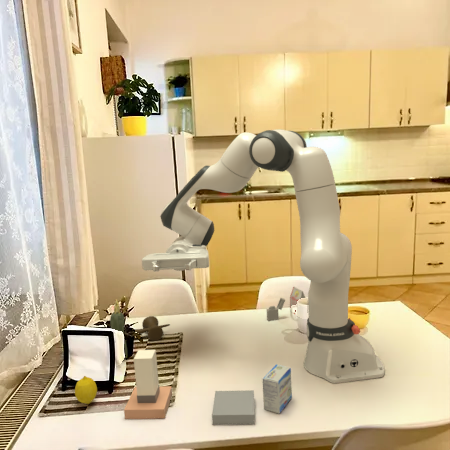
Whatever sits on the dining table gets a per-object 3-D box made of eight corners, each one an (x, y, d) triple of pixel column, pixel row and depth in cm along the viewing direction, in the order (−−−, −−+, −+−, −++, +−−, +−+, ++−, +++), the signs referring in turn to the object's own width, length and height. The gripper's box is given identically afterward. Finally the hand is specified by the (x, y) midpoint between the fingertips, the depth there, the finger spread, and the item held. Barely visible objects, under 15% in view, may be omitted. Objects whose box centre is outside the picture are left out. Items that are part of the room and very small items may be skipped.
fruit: (74, 402, 111) (71, 374, 109) (96, 395, 113) (92, 368, 112) (78, 412, 106) (75, 384, 105) (100, 405, 109) (97, 377, 107)
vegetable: (124, 363, 130) (118, 303, 126) (111, 363, 130) (105, 302, 127) (130, 356, 134) (124, 298, 130) (118, 356, 135) (111, 297, 131)
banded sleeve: (159, 392, 109) (156, 349, 107) (155, 402, 104) (151, 358, 102) (142, 392, 109) (138, 349, 107) (137, 403, 105) (133, 359, 102)
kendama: (113, 339, 149) (167, 326, 156) (116, 351, 140) (174, 337, 147) (111, 324, 147) (166, 312, 154) (114, 335, 139) (172, 322, 145)
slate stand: (254, 399, 108) (253, 390, 107) (254, 424, 98) (254, 414, 98) (215, 399, 108) (215, 390, 108) (212, 424, 99) (212, 415, 98)
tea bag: (298, 309, 165) (297, 285, 164) (307, 315, 159) (307, 290, 157) (290, 311, 164) (289, 287, 162) (299, 317, 158) (298, 292, 156)
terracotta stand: (172, 394, 112) (171, 386, 111) (164, 418, 102) (164, 409, 101) (135, 395, 112) (135, 386, 112) (124, 418, 103) (124, 409, 102)
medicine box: (279, 414, 101) (278, 382, 99) (263, 409, 103) (261, 377, 102) (292, 397, 108) (291, 367, 106) (276, 393, 110) (275, 363, 108)
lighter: (268, 321, 156) (267, 301, 154) (266, 319, 157) (266, 299, 156) (286, 318, 157) (285, 298, 156) (284, 316, 159) (283, 297, 158)
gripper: (146, 247, 132) (134, 259, 119) (210, 245, 131) (206, 256, 117) (148, 266, 133) (136, 280, 120) (211, 264, 132) (207, 277, 118)
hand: (171, 268), depth 118 cm, fingers open, 8 cm apart
